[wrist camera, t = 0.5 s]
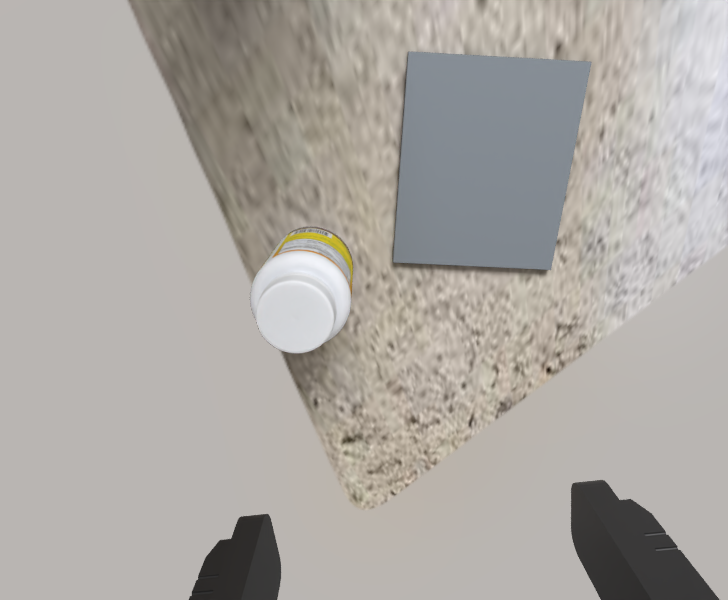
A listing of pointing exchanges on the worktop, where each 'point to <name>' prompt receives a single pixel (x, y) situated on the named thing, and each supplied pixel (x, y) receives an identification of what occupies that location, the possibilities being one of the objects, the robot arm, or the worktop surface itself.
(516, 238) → the mat
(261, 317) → the supplement bottle
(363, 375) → the worktop surface
